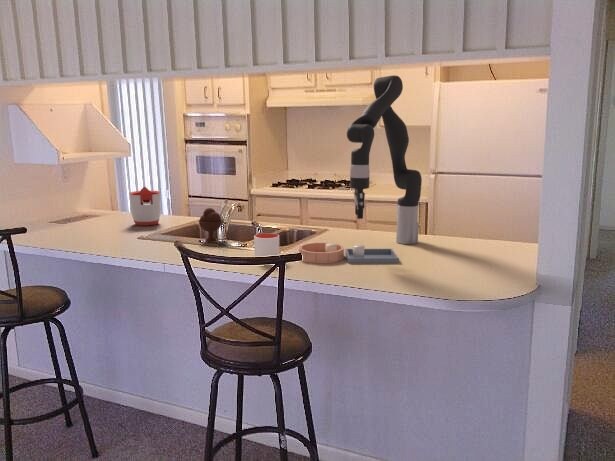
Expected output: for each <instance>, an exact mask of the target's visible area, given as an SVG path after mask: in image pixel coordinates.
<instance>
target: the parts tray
mask: <svg viewBox="0 0 615 461" xmlns="http://www.w3.org/2000/svg"><path fill="white" fill-rule="evenodd" d="M344 254H345V257H346V261H347V264H399V257H398V255H397V253H395V251H394V249H393V248H364V258H353V248H344Z"/></svg>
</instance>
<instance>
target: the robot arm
mask: <svg viewBox="0 0 615 461" xmlns="http://www.w3.org/2000/svg"><path fill="white" fill-rule="evenodd" d="M403 88H404V87H403V80H402V79H401V77H400V76H398V75H388V76H382V77H381V76H380V77H377V78H375V79H374V81H373V92H374V96H375V100H373V101H372V102H371V103H370V104H369V105H367V106H366V108H365V109H364V110H363V112H362V114H361V115H360V116H359V117H358V118H356V119H355V120H354V121H353V122H352V123H351V124H350V125H349V126H348V127H347V131H346V137H347V140H348V141H349V142H351V143H355V144H357V143H358V144H359V143H360V144H361V145H360V148H355V149H352V150H351V153H350V154H351V156H350V157H351V158H350V173H349V175H350V177H349V182H350V183H349V188H350V189H353V190H354V192H353V197H354V198H353V200H354V201H353V202H354V207H355V211H354V214H355V215H356V217H357V220H358V219H359V220H362V219H364V209H365V207H366V206H365V198H366V193H365V192H364V190H366V189H369V188H370V152H371V149H372V145H373V141H374V138H375V130H374V129H375V127H377V125H378V123H379V121H380V120H381V119H382V123H383V128H384V131H385V137H386V142H387V144H388V148H389V154H390V158H391V163H392V164H391V165H392V172H393V173H392V174H393V180H394V183H395V186H396V187H397V188H398V189H400V190H405V192H404V193H405V194H404V195H403V196H401V197H399V198H397V212H396V214H397V215H396V216H397V217H396V238H395V239H396V241H395V242H396V243H398V244H401V245H415V244H419V224H420V223H419V220H418V219H419V218H418V217H419V202H420V199H421V194H422V193H421V192H422V183H423V182H422V180H423V179H422V174H421V172H419V171H418V170H416V169H410V168H409V169H408V168H407V165H406V164H407V163H406V153H407V150H408V146H409V143H410V138H409V133H408V129H407V125H406V123H405V122H404V121H403V119H402V118H401V117H400V116H399V115H398V114H397V113H396V111H394V109H393V108H392V105H393V104H394V103H395V102H396V101H397V99H398V98H399V97H401V95H402V92H403Z"/></svg>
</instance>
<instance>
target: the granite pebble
mask: <svg viewBox="0 0 615 461" xmlns="http://www.w3.org/2000/svg"><path fill="white" fill-rule="evenodd" d="M352 249H353V258H364V249H365V245H363V244H362V245H361V244H354V245H352Z"/></svg>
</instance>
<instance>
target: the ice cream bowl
mask: <svg viewBox="0 0 615 461" xmlns="http://www.w3.org/2000/svg"><path fill="white" fill-rule="evenodd" d="M222 224H223V219H222V218H221V215H220V213H218V212H217V211H216V210H215V209H214V208H211V207H208V208H206V209H204V210H203V215H201V216H200V217H199V219H198V225H199V227H200V228H201V229H202V230H203V231H205V232H208V234H209V235H208V237H207V238H205V242H209V243H212V242H217V241H218V239H217V237H215V236H214V233H215V232H216V231H218V230H219V229H220V228H221V226H222Z"/></svg>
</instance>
